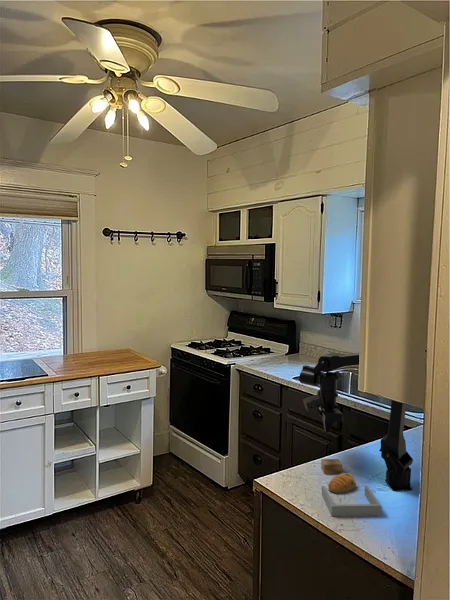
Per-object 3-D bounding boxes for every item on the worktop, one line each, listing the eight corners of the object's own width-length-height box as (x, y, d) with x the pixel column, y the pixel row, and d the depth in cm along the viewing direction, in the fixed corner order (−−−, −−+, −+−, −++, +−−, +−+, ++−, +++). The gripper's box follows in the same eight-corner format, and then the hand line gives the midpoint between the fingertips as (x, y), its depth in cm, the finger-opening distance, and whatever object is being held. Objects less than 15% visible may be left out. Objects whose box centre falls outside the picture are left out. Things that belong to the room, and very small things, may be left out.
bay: (367, 494, 142) (367, 485, 142) (380, 515, 131) (380, 505, 131) (321, 495, 142) (322, 485, 141) (331, 516, 130) (331, 506, 130)
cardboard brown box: (338, 468, 159) (338, 458, 159) (341, 474, 155) (341, 464, 155) (321, 468, 159) (321, 459, 159) (323, 474, 155) (324, 464, 155)
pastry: (340, 497, 141) (340, 486, 140) (322, 489, 146) (322, 477, 145) (357, 487, 147) (358, 476, 146) (339, 479, 152) (340, 468, 151)
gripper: (300, 381, 170) (299, 422, 172) (311, 397, 152) (310, 443, 153) (329, 381, 171) (328, 422, 172) (344, 397, 152) (343, 442, 154)
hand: (326, 431), depth 163 cm, fingers closed
